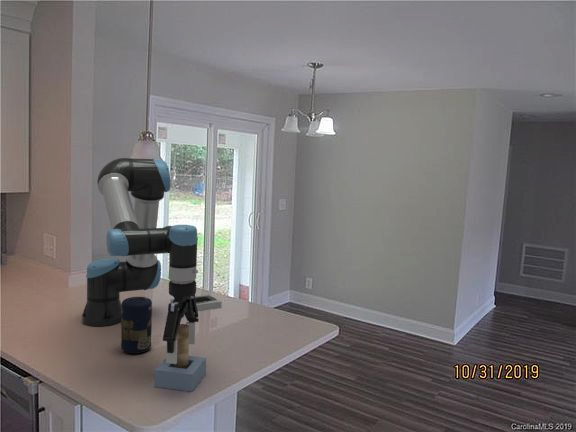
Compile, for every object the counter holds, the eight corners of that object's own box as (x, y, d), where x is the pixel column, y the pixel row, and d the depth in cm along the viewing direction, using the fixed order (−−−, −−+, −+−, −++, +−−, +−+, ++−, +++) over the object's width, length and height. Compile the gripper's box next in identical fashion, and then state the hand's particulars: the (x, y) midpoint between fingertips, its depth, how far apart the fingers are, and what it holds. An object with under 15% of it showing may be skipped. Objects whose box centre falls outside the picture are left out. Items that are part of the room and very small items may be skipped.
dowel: (171, 379, 130) (172, 328, 128) (177, 372, 134) (178, 323, 132) (184, 380, 129) (185, 330, 127) (190, 374, 133) (191, 324, 131)
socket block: (154, 386, 127) (154, 369, 126) (170, 369, 138) (170, 353, 137) (192, 391, 125) (192, 374, 125) (205, 373, 136) (205, 357, 135)
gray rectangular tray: (182, 306, 186) (170, 293, 200) (182, 317, 187) (169, 303, 201) (221, 301, 196) (207, 288, 209) (220, 311, 196) (206, 298, 210)
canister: (125, 343, 155) (125, 292, 153) (154, 343, 156) (154, 292, 153) (117, 355, 145) (117, 301, 143) (147, 355, 146) (148, 301, 144)
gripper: (177, 294, 115) (176, 373, 118) (210, 271, 140) (208, 337, 142) (149, 291, 116) (149, 370, 119) (186, 269, 141) (185, 335, 143)
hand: (181, 352), depth 130 cm, fingers open, 13 cm apart
